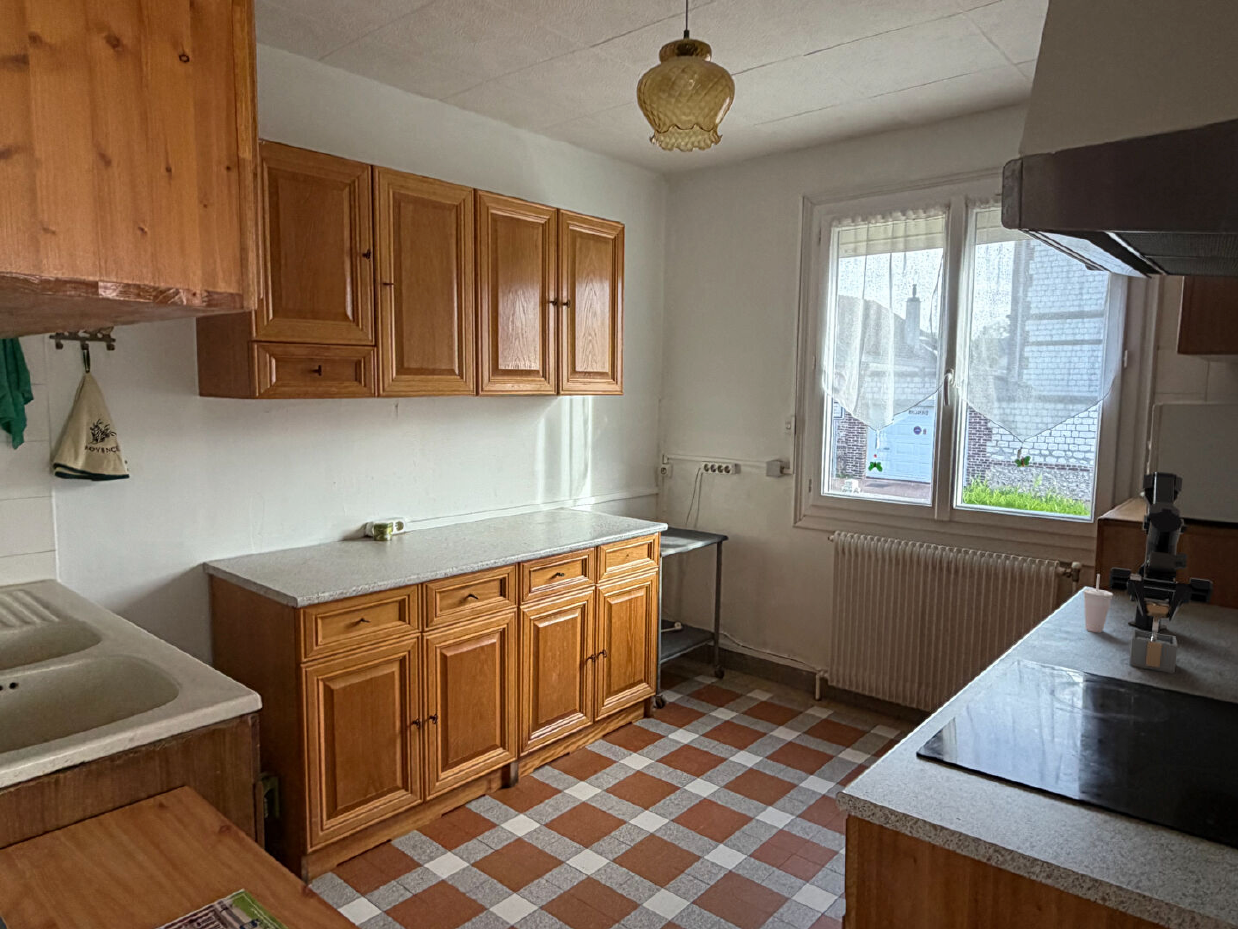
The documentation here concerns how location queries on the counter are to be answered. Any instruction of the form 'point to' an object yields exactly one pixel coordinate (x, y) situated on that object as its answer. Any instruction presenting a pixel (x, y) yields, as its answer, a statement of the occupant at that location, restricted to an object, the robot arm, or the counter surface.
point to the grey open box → (1153, 652)
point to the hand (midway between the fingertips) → (1156, 617)
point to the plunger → (1156, 618)
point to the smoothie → (1096, 607)
